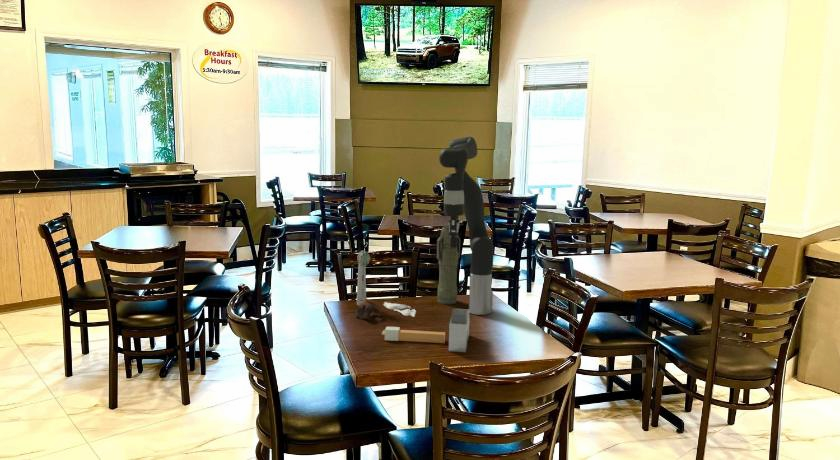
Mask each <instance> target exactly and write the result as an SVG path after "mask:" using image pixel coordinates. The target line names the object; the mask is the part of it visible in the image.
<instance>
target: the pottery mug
mask: <svg viewBox="0 0 840 460" xmlns="http://www.w3.org/2000/svg"><path fill="white" fill-rule="evenodd" d="M380 308H381V305H379V304H378V303H376V302H374V301H372V300H370V299H368V298H367V299H365V301H363V302H361V303H360V304H359V306H357V309H356V313H355V316H356V317H357V318H359V319H361V320H363V318H365V319H367V318H368V319H369V318H370V316H371V314H372V312H373V310H375V311H377V312H378V314H377V316H378V317H380V314H381V309H380Z"/></svg>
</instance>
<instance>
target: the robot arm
mask: <svg viewBox="0 0 840 460" xmlns="http://www.w3.org/2000/svg"><path fill="white" fill-rule="evenodd" d="M477 155H478V145H477V142H476V139H475V137H473V136H465V137H461V138H460V137H459V138H455V139H452V140H450V141H449V147H446V148H443V149H441V151H440V153H439V157H438V159H439V163H440V165H441V166H442V167H443V168H445V169H446V168H448V169H450V168H453V169H454V173H449V174H446V175H445V176H444V194H443V215H444V216H448V217H450V219H448V226H449V232H450V237H451V247H456V246H457V242H458V236H459V234H457V233H459V229H460V219H459V216H460V217H461V216H464V218H465V220H466V223H467V228H468V235H469V247H470V250H471V261H470V262H471V264H470V267H469V268H470V269H469V272H470V273H469V297H468V298H469V299H468V300H469V301H468V309H469V310H470V314H472V315H478V316H479V315H480V316H486V315H489V314H491V313H493V303H494V302H493V299H494V297H493V296H494V291H493V290H492V279H493V277H492V275H493V274H492V273H493V268H494V252H495V251H494V250H495V248H494V243H493V241H492V240H491V239H490V237H489V235H488V231H487V227H486V222H485V204H484V202H485V201H484V197H483V192H482V188H481V187H480V185H479V184H478V183H477V182H476V181H475V180H474V179H473V178H472V177H471V176H470V174H469V173H468V172H467V171H466V168H467V165H468V161H469V160H471V159H474V158H476V157H477Z"/></svg>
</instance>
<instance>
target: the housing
mask: <svg viewBox="0 0 840 460" xmlns="http://www.w3.org/2000/svg"><path fill="white" fill-rule="evenodd" d="M450 314H451V316H450V320H449V325H448V329H449V330H448V352H453V353H455V352H457V353H467V348H468V341H469V338H470V337H469V336H470V316H471V315H470V314H471V313H470V310H469V308H467V309H464V308H452V312H451V313H450Z"/></svg>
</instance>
